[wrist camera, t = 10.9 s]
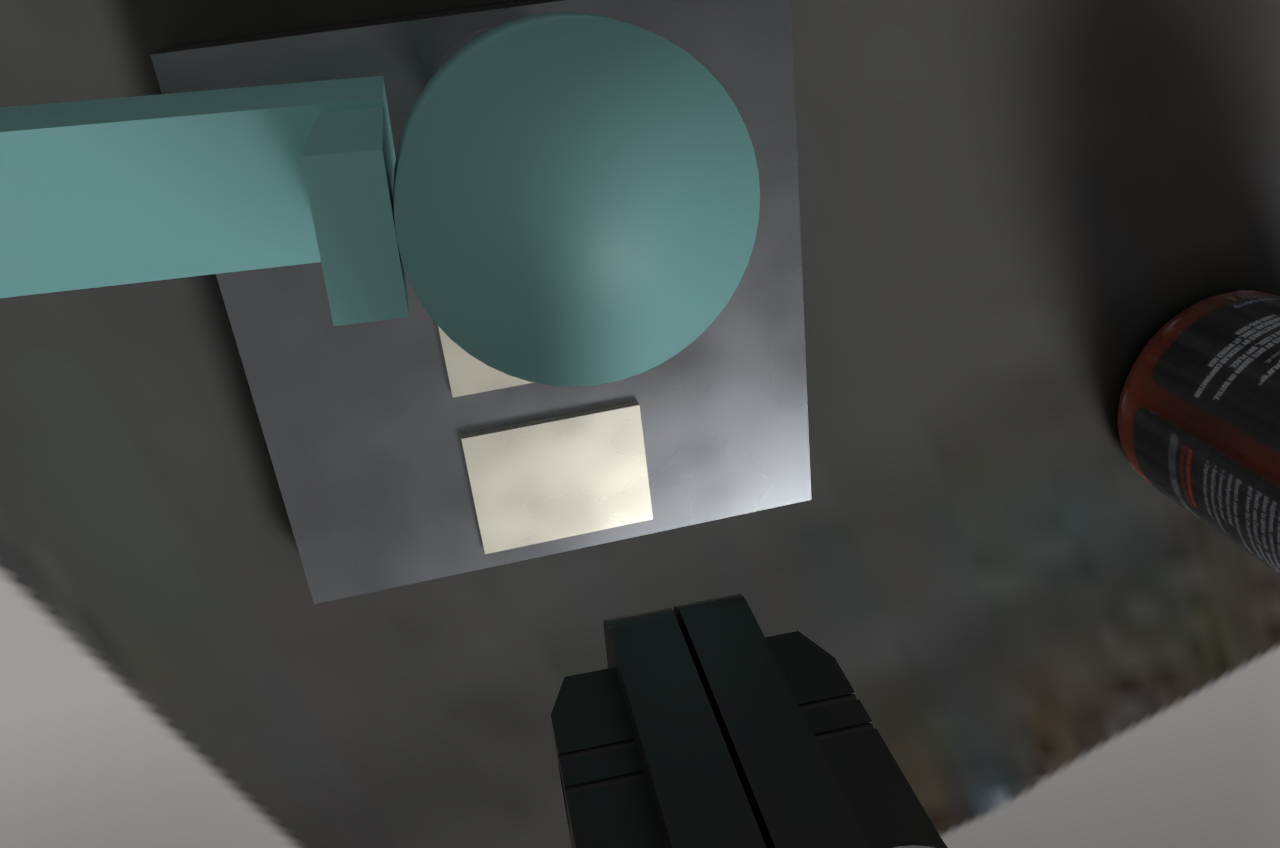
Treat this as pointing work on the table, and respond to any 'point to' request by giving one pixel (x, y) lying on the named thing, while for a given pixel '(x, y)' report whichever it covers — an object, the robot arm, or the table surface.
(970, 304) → the table surface
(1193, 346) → the supplement bottle
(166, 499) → the table surface
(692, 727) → the robot arm
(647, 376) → the plate
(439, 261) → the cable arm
